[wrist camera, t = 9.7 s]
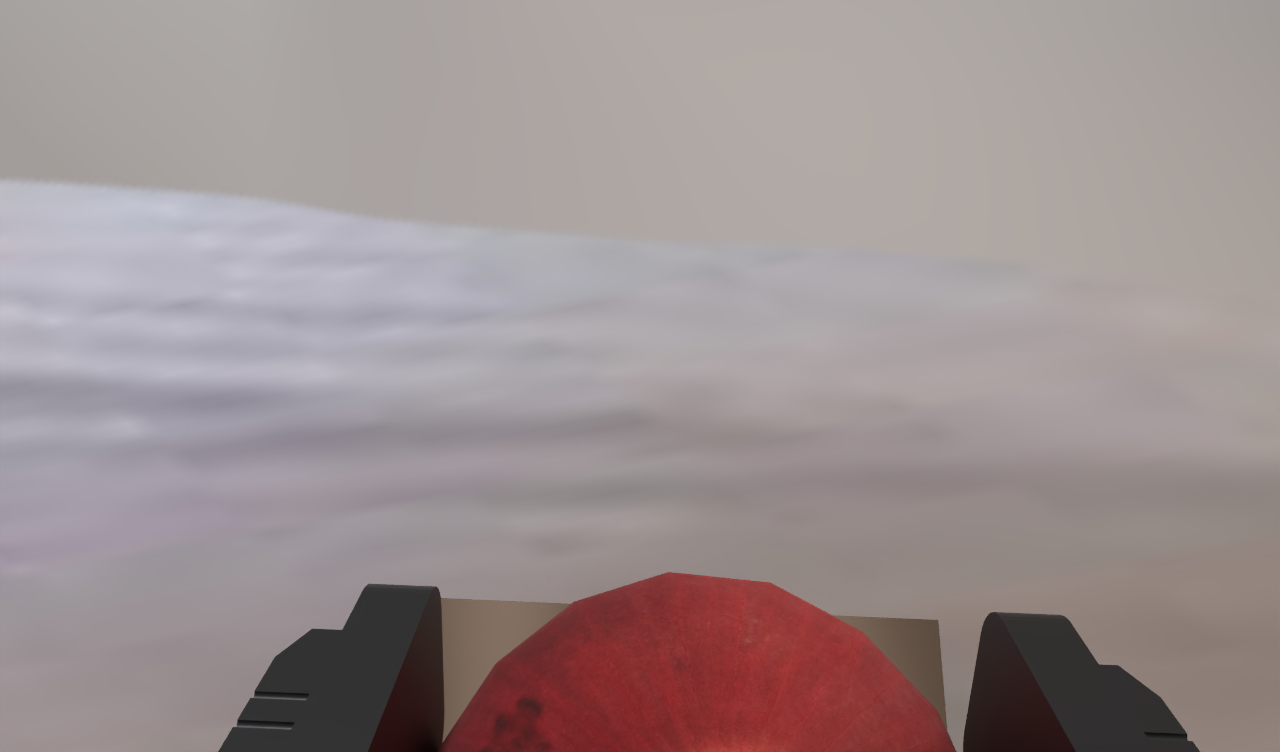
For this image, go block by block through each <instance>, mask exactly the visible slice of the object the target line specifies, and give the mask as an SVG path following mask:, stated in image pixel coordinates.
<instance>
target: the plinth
mask: <svg viewBox="0 0 1280 752" xmlns="http://www.w3.org/2000/svg"><path fill="white" fill-rule="evenodd" d="M569 605H571V604H561V603H539V602H516V601H493V600H471V599H448V598H441V607H442V639H443V672H444V709H445V713H444V732H443V741H442V743H443V742H444V740H445V739H446V737H447V736H448V734H449V733H450V731H451V730H452V728H453V727H454V725H455V724H456V722H457V721H458V719H459V718H460V716H461V715H462V713H463V712H464V710H465V709H466V707H467V706H468V704H469V703H470V701H471V700H472V698H473V697H474V695H475V694H476V692H477V691H478V689H479V688H480V686H481V685H482V683H483V682H484V680H485V679H486V677H487V676H488V674H489V673H490V671H491V670H492V668H493V667H494V665H495V664H496V663H497V662H498V661H499V660H501V659H502V658H503V657H504V656H506V655H507V654H508V653H509V652H511V651H512V650H513V649H515V648H516V647H517V646H518V645H520V644H521V643H522V642H523V641H525V640H526V639H527V638H529V637H530V636H531V635H532V634H534V633H535V632H536V631H537V630H539V629H540V628H541V627H543V626H544V625H545V624H546V623H548V622H549V621H550V620H551V619H553V618H554V617H555V616H557V615H558V614H559V613H560V612H562V611H563V610H564V609H565V608H567V607H568V606H569ZM832 616H833V615H832ZM834 617H836V618H838V619H840V620H841V621H843V622H845V623H847V624H849V625H851V626H853V627H855V628H856V629H858V630H860V631H862V632H864V633H865V635H866V636H867V637H868V638H869V639H870V640H871V641H872V642H873V643H874V644H875V645H876V646H877V647H878V648H879V649H880V650H881V651H882V652H883V654H884V655H885V656H886V657H887V658H888V659H889V660H890V661H891V662H892V663H893V664H894V665H895V666H896V667H897V668H898V669H899V670H900V671H901V672H902V674H903V675H904V676H905V677H906V678H907V679H908V680H909V681H910V682H911V683H912V684H913V685H914V686H915V687H916V688H917V689H918V690H919V691H920V693H921V694H922V695H923V696H924V697H925V698H926V699H927V700H928V701H929V702H930V703H931V704H932V705H933V706H934V707H935V708H936V709H937V710H938V712H939V714H940V717H941V719H942V721H943V723H944V726H945V728H946V730H947V723H946V711H945V699H944V686H943V674H942V662H941V649H940V637H939V624H938V620H923V619H901V618H878V617H855V616H834Z"/></svg>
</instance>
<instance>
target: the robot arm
mask: <svg viewBox="0 0 1280 752" xmlns="http://www.w3.org/2000/svg"><path fill="white" fill-rule="evenodd" d="M444 713H445V709H444V672H443V639H442V607H441V597H440V592H439V589H438V588H437V587H432V586H408V585H385V584H368V585H367V586H366V587H365V588H364V589H363V591H362V593H361V595H360V597H359V599H358V601H357V603H356V605H355V607H354V609H353V611H352V612H351V614H350V616H349V618H348V620H347V622H346V624H345V626H344V628H343V630H328V629H311V630H310V631H309V632H307V633H306V634H305V635H304V636H302V637H301V638H300V639H298V640H297V641H296V642H294V643H293V644H292V645H290V646H289V647H288V648H286V649H285V650H284V651H282V652H281V653H280V654H278V655H277V656H276V657H275V658H274V660H273V661H272V663H271V665H270V666H269V668H268V670H267V671H266V673H265V675H264V676H263V678H262V680H261V681H260V683H259V685H258V686H257V688H256V690H255V694H254V698H250V700H249V701H248V703H247V705H246V706H245V708H244V710H243V711H242V713H241V715H240V716H239V718H238V722H237V727H233V728H232V730H231V731H230V733H229V735H228V736H227V738H226V740H225V741H224V743H223V745H222V746H221V748H220V750H219V751H218V752H437V751H438V749H439V748H440V746H441V745H442V741H443V732H444ZM963 752H1200V751H1199V750H1198V748H1197V747H1196V746H1195V744H1194V743H1193V741H1188V740H1187V733H1186V732H1185V730H1184V729H1183V728H1182V726H1181V725H1180V723H1179V722H1178V721H1177V719H1176V718H1175V717H1174V715H1173V714H1172V712H1171V711H1170V710H1169V708H1168V707H1167V706H1166V704H1165V703H1164V701H1163V700H1162V699H1161V697H1159V696H1158V695H1157V694H1155V693H1154V692H1153V691H1151V690H1150V689H1149V688H1147V687H1146V686H1145V685H1143V684H1142V683H1141V682H1139V681H1138V680H1137V679H1135V678H1134V677H1133V676H1131V675H1130V674H1129V673H1127V672H1126V671H1125V670H1123V669H1122V668H1121V667H1119V666H1118V665H1099V664H1098V663H1097V661H1096V660H1095V658H1094V657H1093V655H1092V654H1091V652H1090V651H1089V649H1088V648H1087V646H1086V645H1085V643H1084V642H1083V640H1082V639H1081V637H1080V636H1079V634H1078V633H1077V631H1076V630H1075V628H1074V627H1073V625H1072V624H1071V622H1070V621H1069V620H1068V619H1067V618H1066V617H1065V616H1062V615H1047V614H1024V613H1002V612H992V613H990V614H989V615H988V616H987V617H986V619H985V621H984V624H983V627H982V631H981V636H980V642H979V648H978V654H977V660H976V666H975V672H974V678H973V684H972V690H971V695H970V701H969V707H968V713H967V719H966V725H965V731H964V742H963Z"/></svg>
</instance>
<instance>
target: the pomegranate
mask: <svg viewBox="0 0 1280 752" xmlns="http://www.w3.org/2000/svg"><path fill="white" fill-rule="evenodd" d="M437 752H956V750H955V748H954V745H953V743H952V741H951V739H950V737H949V734H948V732H947V730H946V728H945V726H944V723H943V721H942V719H941V717H940V714H939V712H938V710H937V709H936V708H935V707H934V706H933V705H932V704H931V703H930V702H929V701H928V700H927V699H926V698H925V697H924V696H923V695H922V694H921V693H920V691H919V690H918V689H917V688H916V687H915V686H914V685H913V684H912V683H911V682H910V681H909V680H908V679H907V678H906V677H905V676H904V675H903V674H902V672H901V671H900V670H899V669H898V668H897V667H896V666H895V665H894V664H893V663H892V662H891V661H890V660H889V659H888V658H887V657H886V656H885V655H884V654H883V652H882V651H881V650H880V649H879V648H878V647H877V646H876V645H875V644H874V643H873V642H872V641H871V640H870V639H869V638H868V637H867V636H866V635H865V633H864V632H862V631H860V630H858V629H856V628H855V627H853V626H851V625H849V624H847V623H845V622H843V621H841V620H840V619H838V618H836V617H834V616H832V615H830V614H828V613H826V612H825V611H823V610H821V609H819V608H817V607H815V606H813V605H811V604H810V603H808V602H806V601H804V600H802V599H800V598H798V597H796V596H795V595H793V594H791V593H789V592H787V591H785V590H783V589H781V588H780V587H778V586H776V585H774V584H772V583H768V582H759V581H749V580H739V579H730V578H720V577H710V576H700V575H691V574H681V573H671V572H668V573H665V574H661V575H658V576H655V577H652V578H649V579H645V580H642V581H639V582H636V583H633V584H630V585H626V586H623V587H620V588H617V589H614V590H610V591H607V592H604V593H601V594H598V595H595V596H591V597H588V598H585V599H582V600H579V601H575V602H573V603H572V604H571V605H569V606H568V607H567V608H565V609H564V610H563V611H562V612H560V613H559V614H558V615H557V616H555V617H554V618H553V619H551V620H550V621H549V622H548V623H546V624H545V625H544V626H543V627H541V628H540V629H539V630H537V631H536V632H535V633H534V634H532V635H531V636H530V637H529V638H527V639H526V640H525V641H523V642H522V643H521V644H520V645H518V646H517V647H516V648H515V649H513V650H512V651H511V652H509V653H508V654H507V655H506V656H504V657H503V658H502V659H501V660H499V661H498V662H497V663H496V664H495V665H494V667H493V668H492V670H491V671H490V673H489V674H488V676H487V677H486V679H485V680H484V682H483V683H482V685H481V686H480V688H479V689H478V691H477V692H476V694H475V695H474V697H473V698H472V700H471V701H470V703H469V704H468V706H467V707H466V709H465V710H464V712H463V713H462V715H461V716H460V718H459V719H458V721H457V722H456V724H455V725H454V727H453V728H452V730H451V731H450V733H449V734H448V736H447V737H446V739H445V740H444V742H443V743H442V745H441V746H440V748H439V749H438V751H437Z"/></svg>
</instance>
